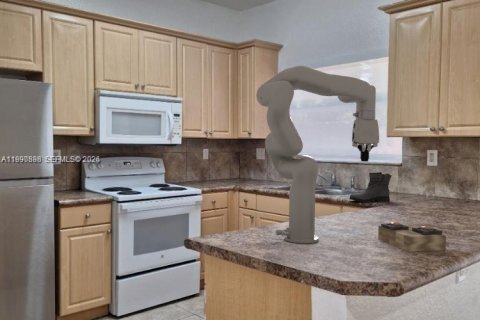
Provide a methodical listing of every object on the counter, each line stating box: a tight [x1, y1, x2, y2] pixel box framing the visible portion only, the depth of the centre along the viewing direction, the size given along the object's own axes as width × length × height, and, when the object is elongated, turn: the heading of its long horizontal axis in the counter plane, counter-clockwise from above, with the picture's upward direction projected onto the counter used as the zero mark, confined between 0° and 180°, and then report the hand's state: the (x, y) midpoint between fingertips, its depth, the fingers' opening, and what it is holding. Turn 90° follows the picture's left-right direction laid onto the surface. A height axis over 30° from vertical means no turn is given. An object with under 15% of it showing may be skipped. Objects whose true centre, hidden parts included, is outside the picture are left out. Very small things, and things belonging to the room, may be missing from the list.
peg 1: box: [388, 221, 401, 227], centre depth 158 cm, size 4×4×7 cm
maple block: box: [377, 222, 447, 253], centre depth 155 cm, size 14×20×6 cm
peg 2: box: [420, 225, 434, 231], centre depth 151 cm, size 4×4×7 cm
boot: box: [348, 171, 392, 203], centre depth 276 cm, size 10×29×19 cm, turn 109°
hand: (364, 161), depth 174 cm, fingers closed
